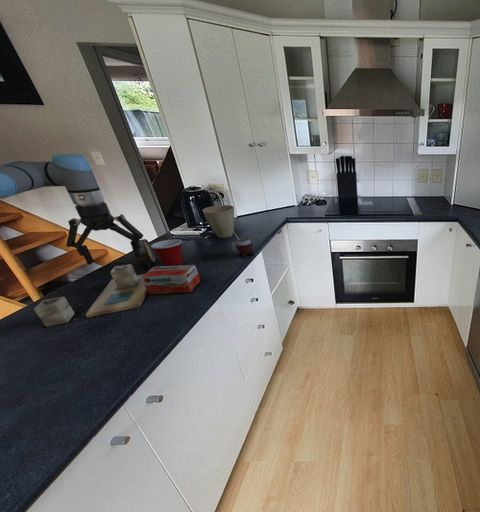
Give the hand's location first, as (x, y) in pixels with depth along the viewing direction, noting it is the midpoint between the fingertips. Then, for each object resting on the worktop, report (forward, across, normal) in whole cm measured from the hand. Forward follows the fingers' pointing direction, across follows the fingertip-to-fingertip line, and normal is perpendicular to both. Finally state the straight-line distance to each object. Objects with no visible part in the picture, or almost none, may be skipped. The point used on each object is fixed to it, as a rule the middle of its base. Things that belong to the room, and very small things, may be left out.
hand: (115, 259), depth 100 cm
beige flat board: (+12, 0, -5) cm, 13 cm away
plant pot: (+12, +32, +44) cm, 56 cm away
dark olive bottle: (+12, +2, +19) cm, 23 cm away
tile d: (+12, -14, -15) cm, 24 cm away
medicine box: (+12, +16, -8) cm, 22 cm away
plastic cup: (+12, +14, +12) cm, 22 cm away
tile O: (+10, +1, 0) cm, 11 cm away
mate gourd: (+12, +42, +12) cm, 45 cm away
